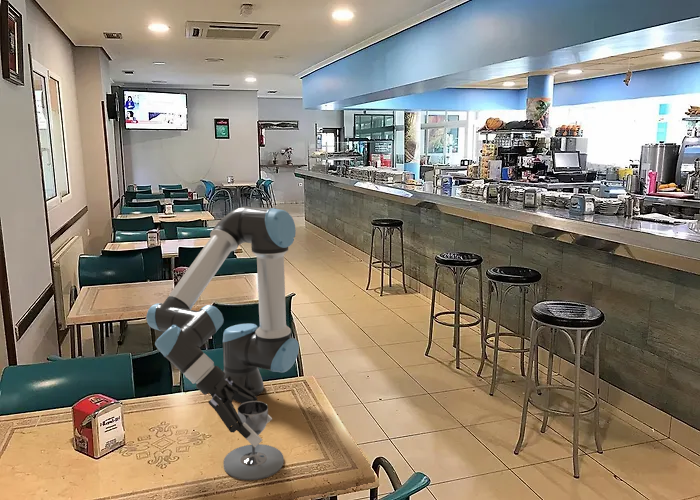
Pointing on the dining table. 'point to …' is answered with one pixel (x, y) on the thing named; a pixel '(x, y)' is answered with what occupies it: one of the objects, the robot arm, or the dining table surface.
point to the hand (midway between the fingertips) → (263, 432)
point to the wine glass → (254, 428)
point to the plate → (253, 472)
